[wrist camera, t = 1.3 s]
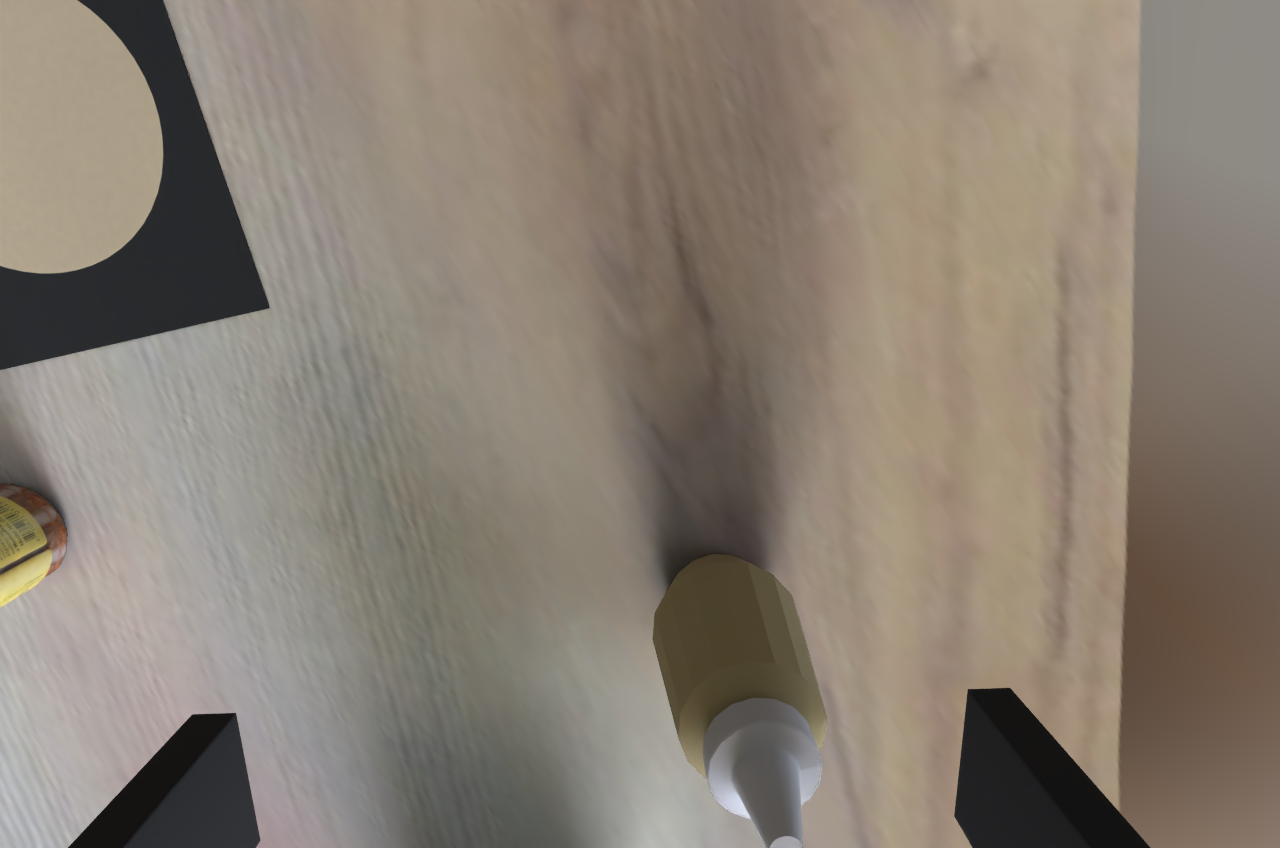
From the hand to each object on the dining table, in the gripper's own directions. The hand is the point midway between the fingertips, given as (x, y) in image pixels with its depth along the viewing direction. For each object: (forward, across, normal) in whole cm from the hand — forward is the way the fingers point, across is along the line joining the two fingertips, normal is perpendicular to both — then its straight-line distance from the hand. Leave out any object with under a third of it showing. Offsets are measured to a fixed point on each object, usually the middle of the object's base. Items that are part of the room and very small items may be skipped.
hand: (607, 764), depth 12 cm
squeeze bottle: (+27, +6, -11) cm, 30 cm away
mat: (+27, -29, +16) cm, 43 cm away
